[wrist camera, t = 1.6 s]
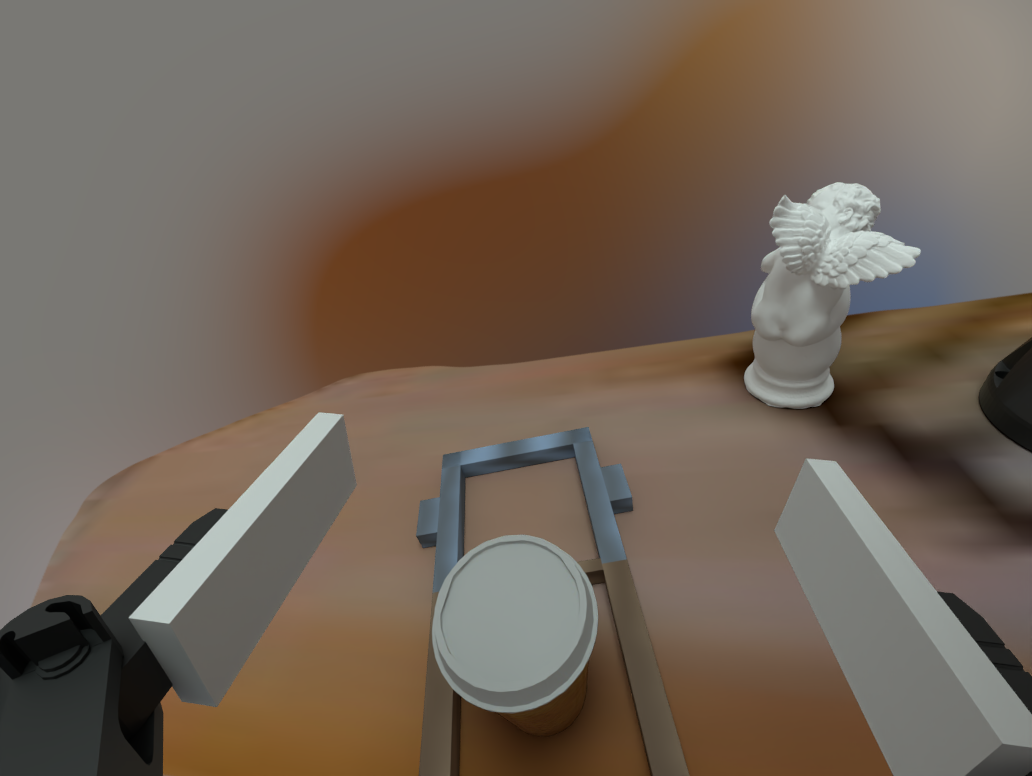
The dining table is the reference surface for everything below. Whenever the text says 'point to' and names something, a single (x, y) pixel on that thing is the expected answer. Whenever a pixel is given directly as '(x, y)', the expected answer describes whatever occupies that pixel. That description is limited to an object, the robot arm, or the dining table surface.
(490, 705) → the disposable coffee cup
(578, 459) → the two-bay frame
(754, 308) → the cherub figurine
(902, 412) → the dining table surface
